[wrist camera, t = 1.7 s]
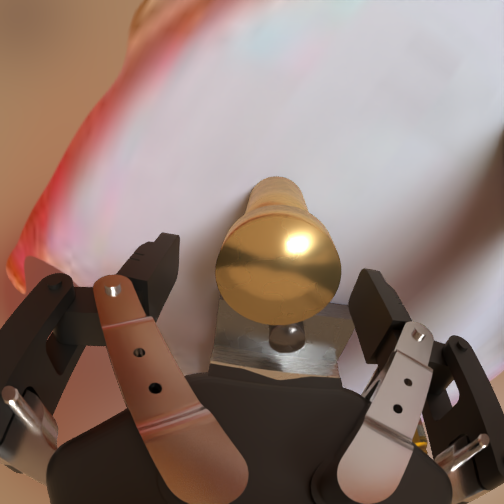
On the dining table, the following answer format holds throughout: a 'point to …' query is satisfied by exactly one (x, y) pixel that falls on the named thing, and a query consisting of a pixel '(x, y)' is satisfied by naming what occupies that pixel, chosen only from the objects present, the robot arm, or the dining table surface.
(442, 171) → the dining table surface
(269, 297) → the brass pin
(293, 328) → the slotted plate with knobs
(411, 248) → the dining table surface
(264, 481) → the robot arm
